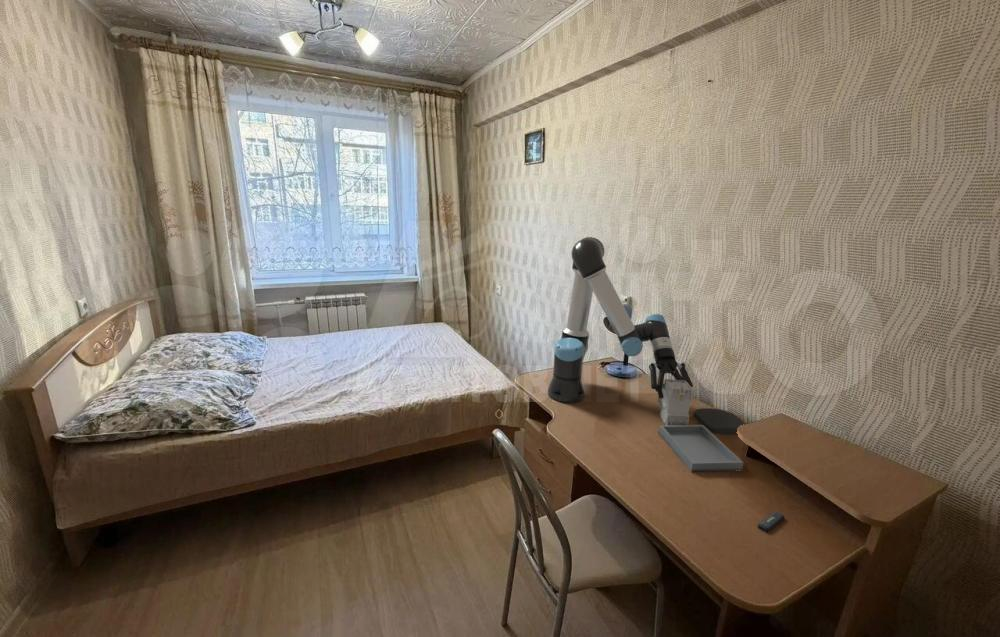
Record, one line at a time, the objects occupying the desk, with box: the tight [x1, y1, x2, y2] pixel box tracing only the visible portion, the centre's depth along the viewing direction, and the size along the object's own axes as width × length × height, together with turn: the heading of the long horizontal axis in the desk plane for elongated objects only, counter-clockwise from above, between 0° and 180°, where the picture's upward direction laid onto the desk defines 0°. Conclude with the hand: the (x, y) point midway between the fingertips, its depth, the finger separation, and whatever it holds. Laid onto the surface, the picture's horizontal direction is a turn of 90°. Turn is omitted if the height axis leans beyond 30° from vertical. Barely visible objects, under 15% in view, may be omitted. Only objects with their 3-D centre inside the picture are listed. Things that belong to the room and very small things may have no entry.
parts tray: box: [658, 424, 744, 473], centre depth 133 cm, size 22×16×3 cm
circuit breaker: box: [657, 378, 694, 425], centre depth 152 cm, size 8×14×15 cm, turn 174°
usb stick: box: [757, 510, 785, 533], centre depth 102 cm, size 10×3×2 cm, turn 123°
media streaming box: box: [693, 407, 745, 435], centre depth 150 cm, size 15×15×3 cm
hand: (677, 406), depth 150 cm, fingers closed on circuit breaker, 8 cm apart
